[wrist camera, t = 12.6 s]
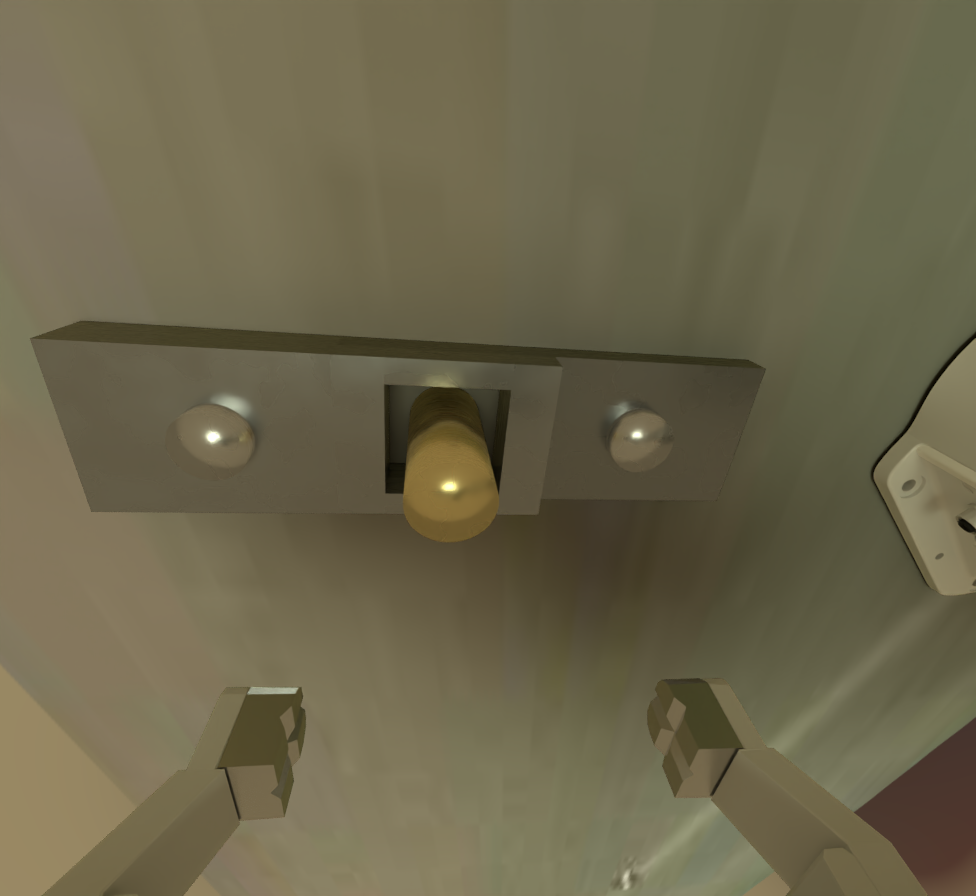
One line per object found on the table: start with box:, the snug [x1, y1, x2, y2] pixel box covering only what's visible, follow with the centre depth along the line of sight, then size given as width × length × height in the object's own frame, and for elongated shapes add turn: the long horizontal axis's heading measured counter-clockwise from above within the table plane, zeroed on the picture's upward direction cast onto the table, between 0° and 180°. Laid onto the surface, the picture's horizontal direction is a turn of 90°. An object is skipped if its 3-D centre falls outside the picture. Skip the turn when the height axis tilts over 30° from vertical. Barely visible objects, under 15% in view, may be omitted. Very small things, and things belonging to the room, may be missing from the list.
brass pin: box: [403, 387, 499, 542], centre depth 21 cm, size 4×4×8 cm
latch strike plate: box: [30, 321, 766, 515], centre depth 23 cm, size 32×8×4 cm, turn 85°
